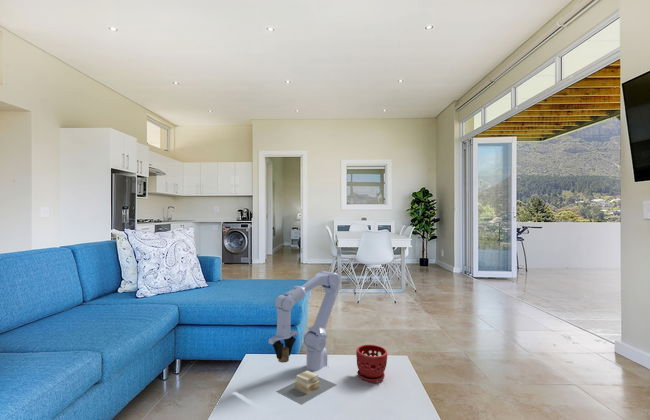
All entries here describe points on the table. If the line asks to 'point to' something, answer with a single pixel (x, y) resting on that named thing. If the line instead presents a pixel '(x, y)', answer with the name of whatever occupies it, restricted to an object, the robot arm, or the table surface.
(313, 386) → the oak bottom block
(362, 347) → the plant pot
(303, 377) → the birch top block
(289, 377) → the table surface
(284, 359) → the walnut cylinder
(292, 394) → the grey base plate
